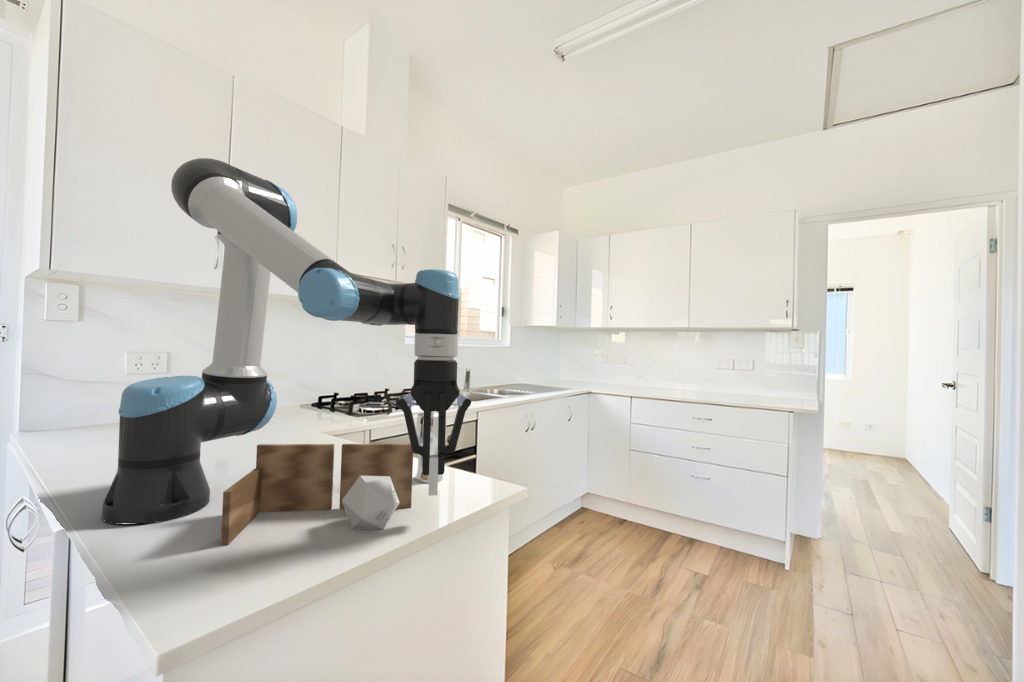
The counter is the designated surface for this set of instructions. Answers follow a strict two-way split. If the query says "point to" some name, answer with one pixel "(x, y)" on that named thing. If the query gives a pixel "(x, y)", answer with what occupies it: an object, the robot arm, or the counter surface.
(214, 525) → the counter surface
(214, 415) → the robot arm
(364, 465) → the panel
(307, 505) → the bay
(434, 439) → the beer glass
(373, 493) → the die
